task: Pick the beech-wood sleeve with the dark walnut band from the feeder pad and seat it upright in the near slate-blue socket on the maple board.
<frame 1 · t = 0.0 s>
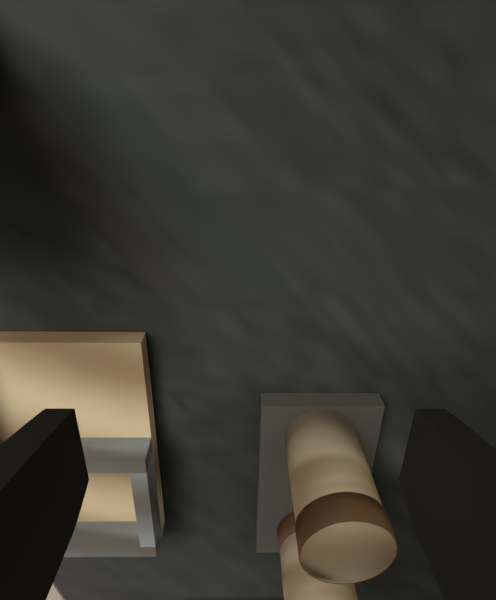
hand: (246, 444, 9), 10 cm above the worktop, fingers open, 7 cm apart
socket board: (14, 438, 22), on the worktop
feeder pad: (311, 471, 23), on the worktop
sleeve band down: (309, 529, 24), point 1 cm above the worktop, touching feeder pad
sleeve band up: (319, 437, 21), point 1 cm above the worktop, touching feeder pad
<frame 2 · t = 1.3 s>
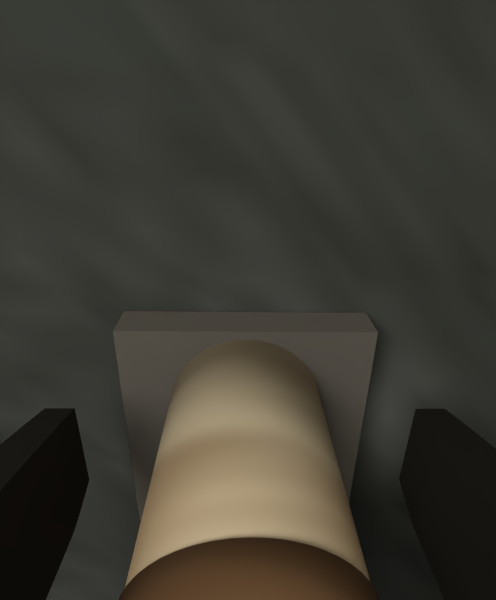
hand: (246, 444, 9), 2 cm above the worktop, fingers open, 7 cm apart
feeder pad: (243, 473, 13), on the worktop
sleeve band up: (245, 402, 10), point 1 cm above the worktop, touching feeder pad
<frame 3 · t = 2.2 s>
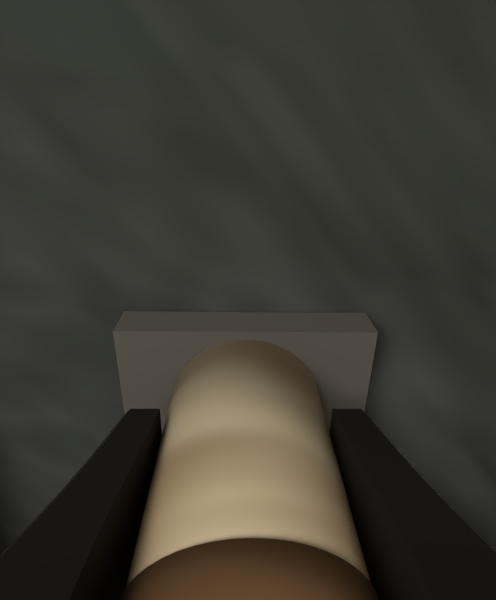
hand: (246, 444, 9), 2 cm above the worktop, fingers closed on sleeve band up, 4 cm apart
feeder pad: (243, 473, 13), on the worktop
sleeve band up: (245, 402, 10), point 1 cm above the worktop, touching feeder pad, gripper
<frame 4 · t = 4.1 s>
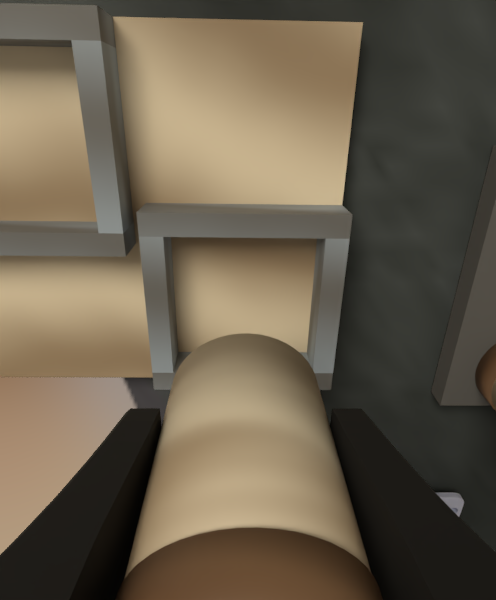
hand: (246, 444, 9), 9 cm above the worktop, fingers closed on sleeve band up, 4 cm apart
socket board: (140, 223, 16), on the worktop
sleeve band up: (245, 397, 10), point 8 cm above the worktop, touching gripper
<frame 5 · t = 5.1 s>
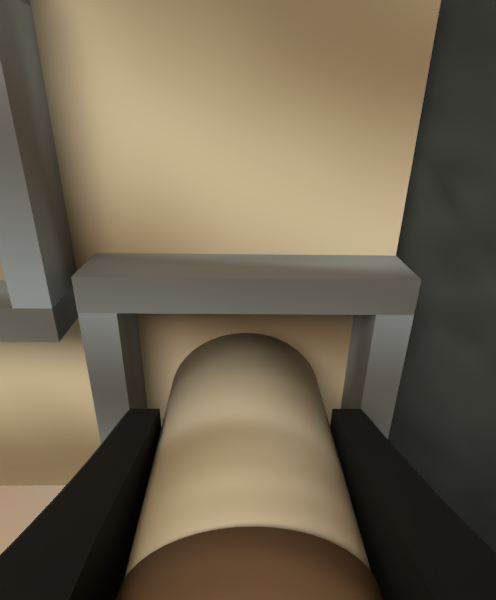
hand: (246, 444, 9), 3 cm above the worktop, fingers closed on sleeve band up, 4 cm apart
socket board: (93, 276, 11), on the worktop
sleeve band up: (245, 396, 10), point 2 cm above the worktop, touching gripper
when the fingers open (3 cm above the worktop, at t = 5.8 s): sleeve band up stays where it is, resting on socket board.
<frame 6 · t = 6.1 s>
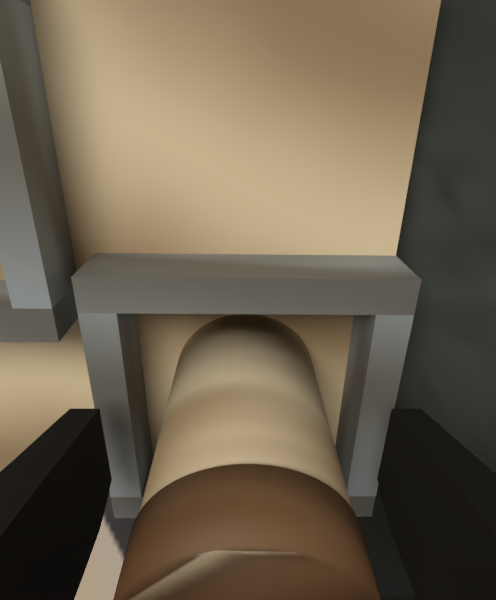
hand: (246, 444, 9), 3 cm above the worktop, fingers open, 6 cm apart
socket board: (93, 276, 11), on the worktop
sleeve band up: (244, 373, 11), point 1 cm above the worktop, touching socket board
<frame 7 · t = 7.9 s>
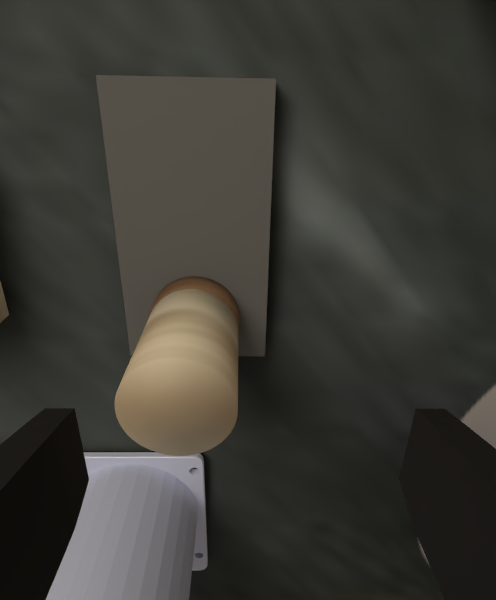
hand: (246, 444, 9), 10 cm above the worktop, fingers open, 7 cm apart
feeder pad: (195, 230, 17), on the worktop
sleeve band down: (196, 316, 18), point 1 cm above the worktop, touching feeder pad
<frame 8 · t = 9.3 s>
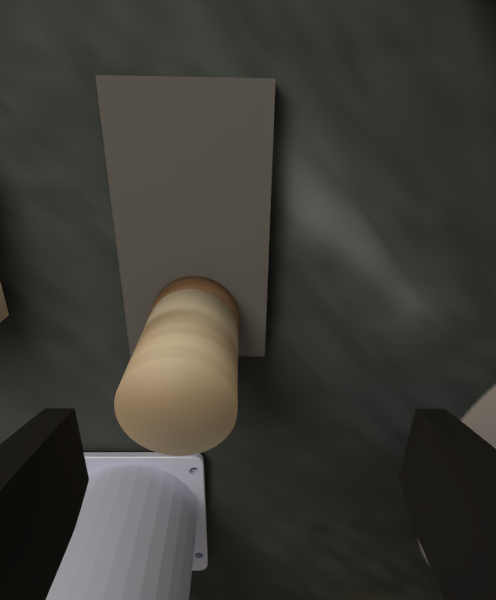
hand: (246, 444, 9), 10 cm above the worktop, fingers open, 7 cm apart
feeder pad: (195, 229, 17), on the worktop
sleeve band down: (196, 316, 18), point 1 cm above the worktop, touching feeder pad
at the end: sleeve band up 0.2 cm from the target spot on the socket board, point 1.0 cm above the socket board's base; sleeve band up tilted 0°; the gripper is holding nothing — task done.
